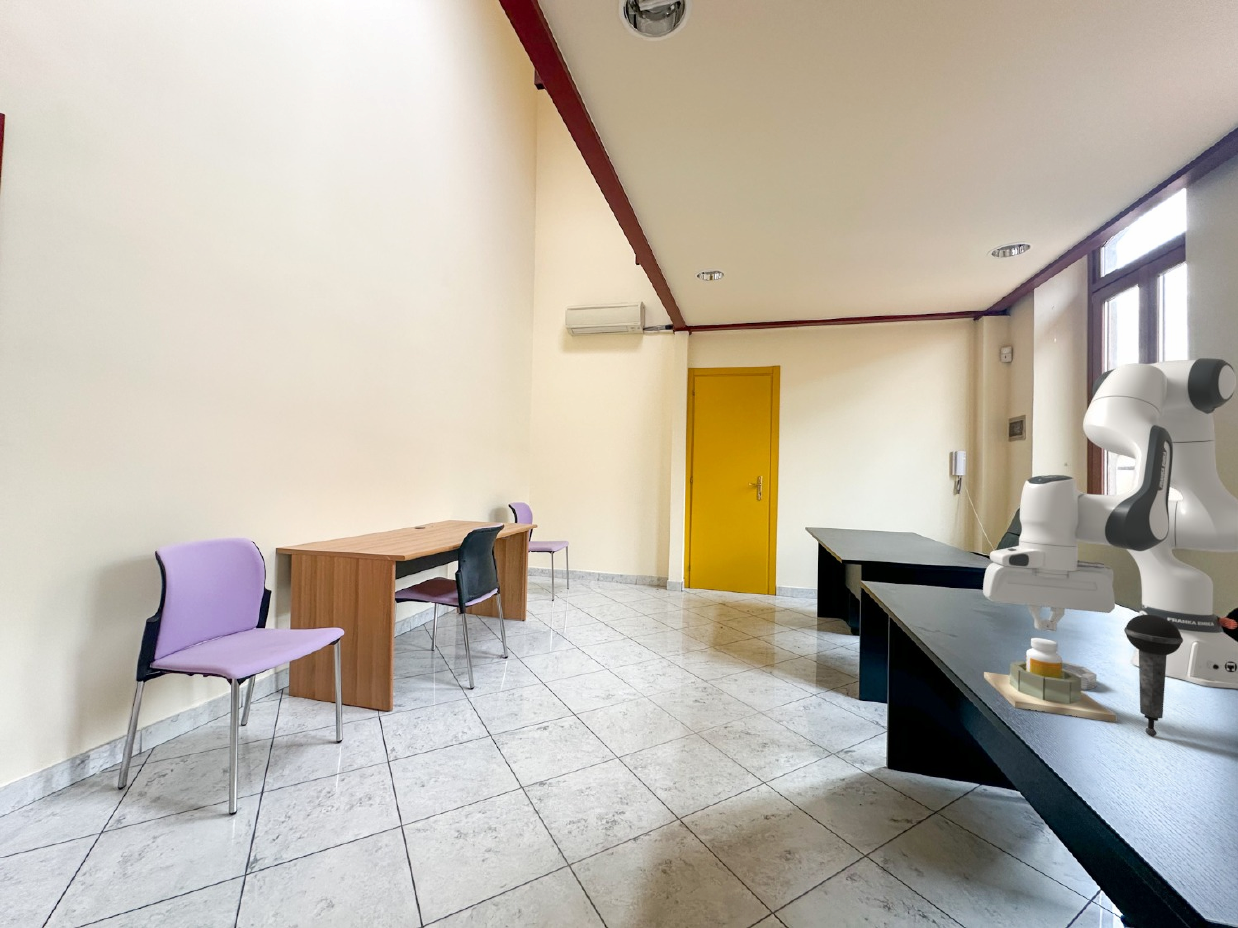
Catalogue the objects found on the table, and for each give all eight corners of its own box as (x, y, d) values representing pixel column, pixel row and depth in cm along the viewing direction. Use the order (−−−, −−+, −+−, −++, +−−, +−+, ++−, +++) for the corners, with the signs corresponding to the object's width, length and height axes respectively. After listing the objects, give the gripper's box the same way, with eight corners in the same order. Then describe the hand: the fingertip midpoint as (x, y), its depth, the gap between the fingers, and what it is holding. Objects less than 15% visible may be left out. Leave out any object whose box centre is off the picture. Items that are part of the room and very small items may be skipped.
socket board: (1069, 688, 105) (1070, 663, 105) (1116, 722, 90) (1116, 692, 90) (984, 677, 109) (984, 652, 109) (1015, 707, 95) (1015, 679, 95)
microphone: (1188, 751, 81) (1191, 623, 81) (1128, 737, 85) (1131, 615, 85) (1172, 733, 87) (1174, 614, 87) (1116, 721, 90) (1119, 607, 91)
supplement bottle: (1068, 698, 97) (1069, 646, 97) (1036, 695, 98) (1037, 644, 98) (1049, 687, 102) (1051, 637, 102) (1019, 684, 103) (1020, 635, 103)
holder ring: (1076, 673, 113) (1076, 662, 113) (1105, 692, 103) (1105, 679, 103) (1020, 666, 116) (1020, 655, 117) (1043, 684, 107) (1043, 672, 107)
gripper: (1103, 560, 100) (1101, 632, 100) (981, 551, 106) (979, 618, 106) (1124, 565, 94) (1122, 641, 94) (993, 555, 100) (991, 627, 100)
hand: (1045, 629), depth 100 cm, fingers closed
